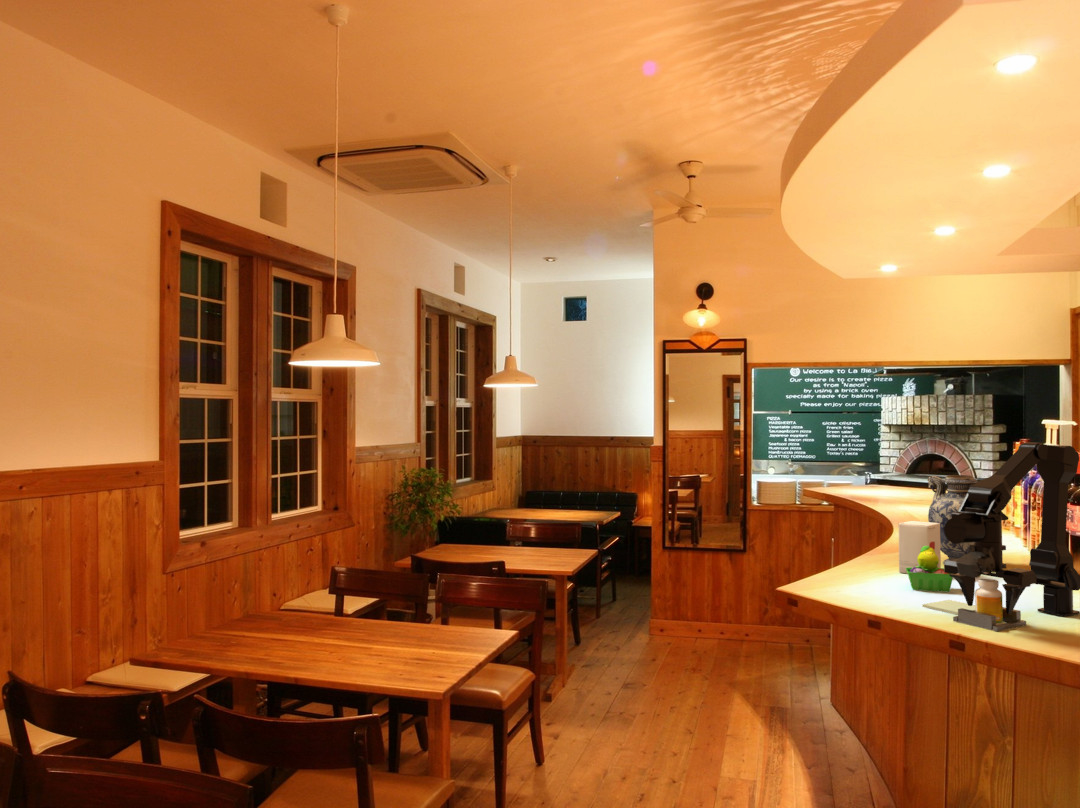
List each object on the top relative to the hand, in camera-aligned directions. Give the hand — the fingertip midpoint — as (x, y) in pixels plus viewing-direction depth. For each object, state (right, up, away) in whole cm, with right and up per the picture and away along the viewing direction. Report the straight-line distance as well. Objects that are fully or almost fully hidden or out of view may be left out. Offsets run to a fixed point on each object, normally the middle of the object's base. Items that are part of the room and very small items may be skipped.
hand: (989, 609), depth 185 cm
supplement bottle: (0, -3, 0) cm, 3 cm away
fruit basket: (+4, -4, +37) cm, 38 cm away
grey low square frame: (0, -3, 0) cm, 3 cm away
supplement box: (+12, -4, +59) cm, 61 cm away
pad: (-1, -3, +14) cm, 15 cm away
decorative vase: (+31, -4, +71) cm, 78 cm away
